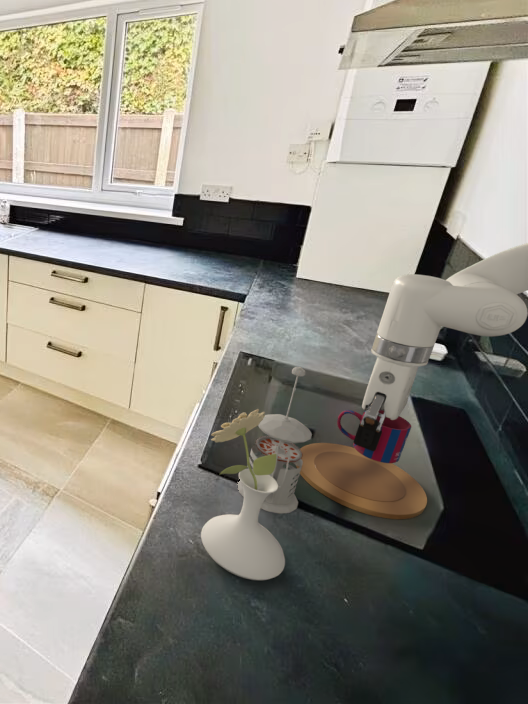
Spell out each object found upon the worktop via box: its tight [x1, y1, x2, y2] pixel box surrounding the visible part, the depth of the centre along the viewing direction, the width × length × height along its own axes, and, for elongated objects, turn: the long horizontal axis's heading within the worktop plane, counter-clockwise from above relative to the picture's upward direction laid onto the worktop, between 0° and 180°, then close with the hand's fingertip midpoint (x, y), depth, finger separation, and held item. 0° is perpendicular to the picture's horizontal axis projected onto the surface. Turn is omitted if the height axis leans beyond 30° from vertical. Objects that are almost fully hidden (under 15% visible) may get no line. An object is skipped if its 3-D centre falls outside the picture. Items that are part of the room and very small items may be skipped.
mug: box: [336, 409, 412, 464], centre depth 82 cm, size 7×10×7 cm
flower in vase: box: [200, 408, 286, 581], centre depth 65 cm, size 13×11×25 cm
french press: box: [236, 366, 313, 514], centre depth 76 cm, size 10×12×25 cm
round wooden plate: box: [295, 442, 428, 520], centre depth 85 cm, size 20×20×1 cm
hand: (370, 438), depth 83 cm, fingers closed on mug, 6 cm apart
